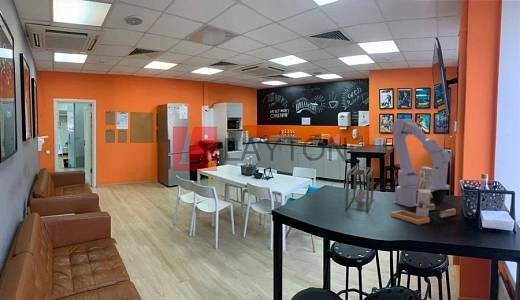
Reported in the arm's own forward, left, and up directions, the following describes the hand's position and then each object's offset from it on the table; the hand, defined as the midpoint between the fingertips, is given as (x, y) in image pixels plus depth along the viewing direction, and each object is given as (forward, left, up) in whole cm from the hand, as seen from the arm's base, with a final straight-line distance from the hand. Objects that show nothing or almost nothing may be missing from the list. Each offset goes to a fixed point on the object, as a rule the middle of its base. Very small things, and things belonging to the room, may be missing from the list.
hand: (437, 205), depth 146 cm
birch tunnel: (0, 0, -4) cm, 4 cm away
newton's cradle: (-28, -20, -4) cm, 35 cm away
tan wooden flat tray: (0, -21, -4) cm, 21 cm away
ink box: (0, -12, -4) cm, 12 cm away
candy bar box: (-24, +29, -4) cm, 38 cm away
